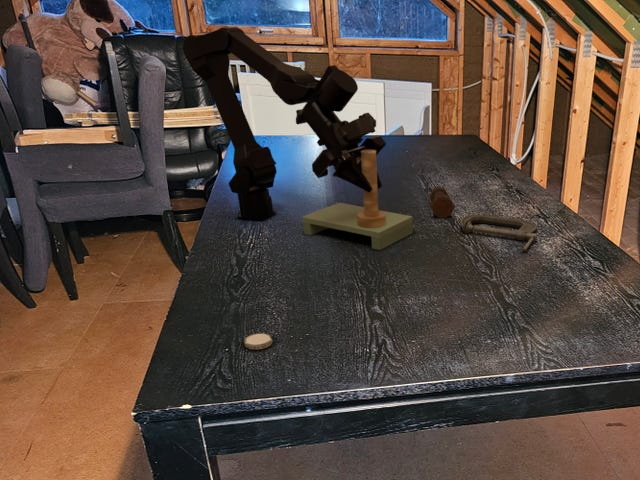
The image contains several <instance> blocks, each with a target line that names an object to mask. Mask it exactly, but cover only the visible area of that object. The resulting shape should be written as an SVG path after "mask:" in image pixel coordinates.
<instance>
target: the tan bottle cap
mask: <svg viewBox="0 0 640 480" xmlns="http://www.w3.org/2000/svg"><path fill="white" fill-rule="evenodd" d="M243 341H244V342H243V343H244V346H245V348H247V349H249V350H262V349H266V348H268V347H270V346H271V345H273V337H272V336H271V335H270V334H268V333H255V334H250V335H249V336H246V338H245V339H244V340H243Z"/></svg>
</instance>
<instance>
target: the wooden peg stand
mask: <svg viewBox="0 0 640 480" xmlns="http://www.w3.org/2000/svg"><path fill="white" fill-rule="evenodd" d="M361 162H362V173H363V174H364V176H365V177H366V179H367V180H368V182H369V183H370V185H371V187H372V191H371V192H367V191H365V190H363V189H362V198H363V207H364V211H362V212H359V213H358V214H357V224H358V225H359V226H361V227H365V228H378V227H382V226H384V225H386V214H385V213H384V212H382V211H383V210H381V211H378V210H379V191H378V187H377V172H378V166H377V165H378V163H377V156H376V151H375V150H362V151H361Z"/></svg>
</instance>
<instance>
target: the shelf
mask: <svg viewBox="0 0 640 480" xmlns="http://www.w3.org/2000/svg"><path fill="white" fill-rule="evenodd" d="M362 211H364V206H359V205H354V204H350V203H343V202H337V203H335V204H332V205H329V206H326V207H325V208H321V209H319V210H317V211H314V212H311V213H309V214H307V215H304V216H302V217H301V219H302V228H303V234H304V235H307V236H313V235H316V234H318V233H320V232H322V231H325V230H328V229H333V230H339V231H342V232H348V233H352V234H358V235H363V236H367V237H370V241H371V249H373V250H376V251H377V250H378V251H381V250H383V249H385V248H387V247H389V246H391V245H393V244H394V243H396V242H398V241H400V240H403V239H404V238H406V237H409V236H411V235H412V234H413V233H414V221H413V220H414V219H413V217H414V216H412V215H407V214H402V213H396V212H391V211H386V210H381V209H378V211H382V212H384V213H385V214H386V225H384V226H382V227H378V228H365V227H361V226H359V225H358V224H357V214H358V213H359V212H362Z"/></svg>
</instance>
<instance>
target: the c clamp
mask: <svg viewBox="0 0 640 480" xmlns="http://www.w3.org/2000/svg"><path fill="white" fill-rule="evenodd" d="M472 224H488V225H495V226H501V227H509V228H516V229H517V230H509V229H501V228H494V227H487V226H481V225H480V226H479V225H472ZM459 225H460V227H461V231H462V233H464V234H469V233H472V232H474V233H481V234H487V235H494V236H503V237H509V238H514V239H515V240H516V241H523V242H525V241H526V240H528V241H527V243H526V244H525V245H524V247H523V248H522V251H523V252H527V251H528V249H529V247H530V246H531V244H532V243H533V241H534V242H535V241H537V239H538V234H537V233H535V232H536V231H537V229H538V226H537V225H536V223H533V222H531V221H529V220H524V219H523V220H522V219H515V218H510V217H509V218H508V217H501V216H494V215H488V214H469V215H466V216H464V217H463V218H461V220H460V222H459Z"/></svg>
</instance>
